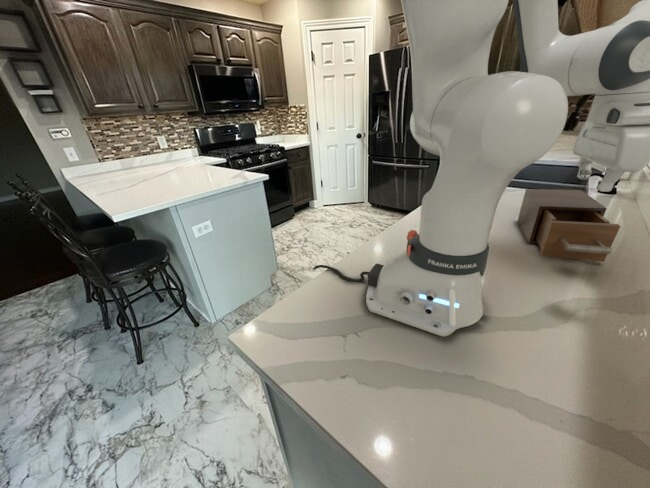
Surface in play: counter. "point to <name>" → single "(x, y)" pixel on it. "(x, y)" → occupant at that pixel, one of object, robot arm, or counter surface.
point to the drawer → (575, 234)
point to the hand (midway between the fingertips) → (592, 184)
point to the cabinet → (552, 207)
